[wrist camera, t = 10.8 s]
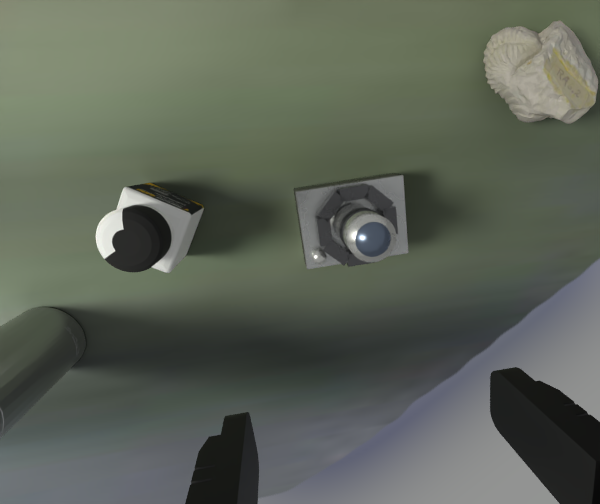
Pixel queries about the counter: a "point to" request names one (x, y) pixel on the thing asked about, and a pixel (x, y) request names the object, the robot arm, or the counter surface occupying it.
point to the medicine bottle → (148, 229)
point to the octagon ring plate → (336, 195)
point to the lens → (365, 232)
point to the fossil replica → (541, 73)
